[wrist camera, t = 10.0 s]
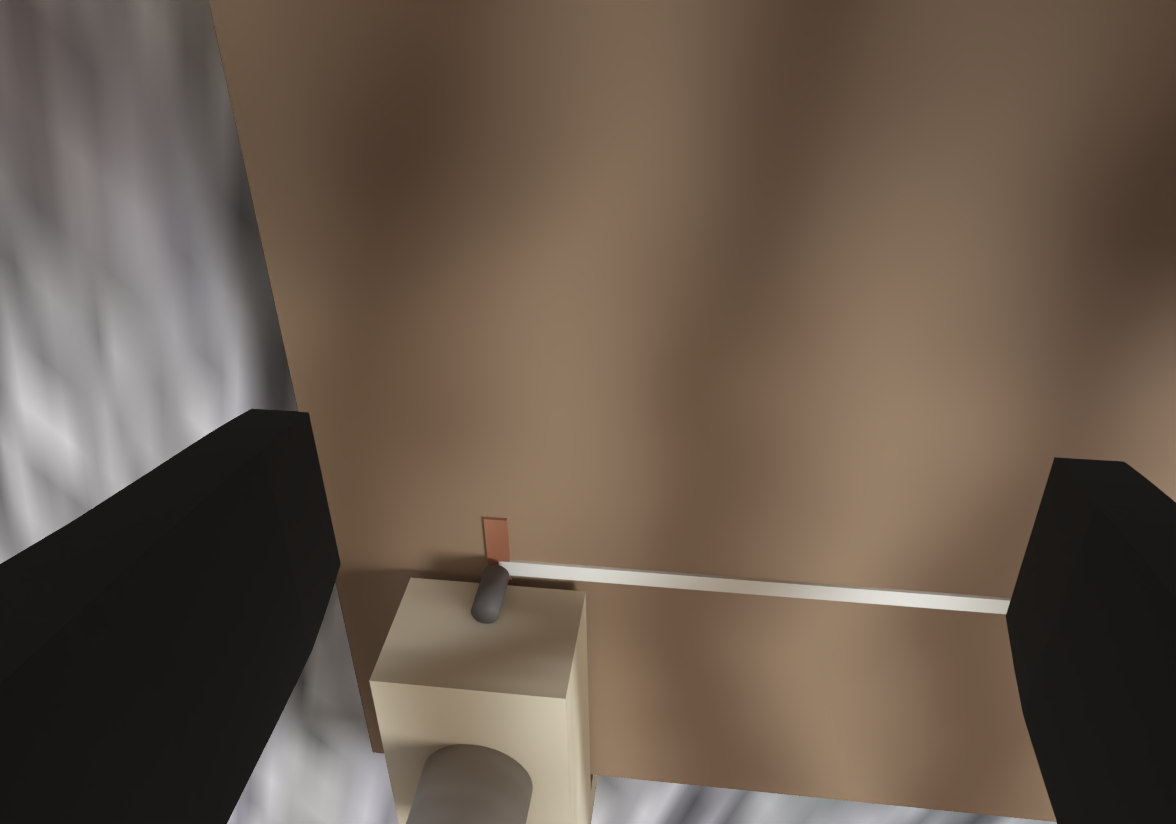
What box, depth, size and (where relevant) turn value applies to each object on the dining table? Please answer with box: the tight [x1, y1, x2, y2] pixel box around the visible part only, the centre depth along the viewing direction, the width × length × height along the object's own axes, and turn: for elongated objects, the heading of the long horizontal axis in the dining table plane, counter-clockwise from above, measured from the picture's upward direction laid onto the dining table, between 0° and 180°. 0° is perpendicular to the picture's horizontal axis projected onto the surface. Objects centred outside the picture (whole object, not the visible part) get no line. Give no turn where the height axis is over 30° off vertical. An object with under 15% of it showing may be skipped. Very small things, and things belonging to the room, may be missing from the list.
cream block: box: [369, 565, 598, 824], centre depth 22 cm, size 4×9×10 cm, turn 1°
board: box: [209, 0, 1176, 822], centre depth 21 cm, size 18×20×2 cm
